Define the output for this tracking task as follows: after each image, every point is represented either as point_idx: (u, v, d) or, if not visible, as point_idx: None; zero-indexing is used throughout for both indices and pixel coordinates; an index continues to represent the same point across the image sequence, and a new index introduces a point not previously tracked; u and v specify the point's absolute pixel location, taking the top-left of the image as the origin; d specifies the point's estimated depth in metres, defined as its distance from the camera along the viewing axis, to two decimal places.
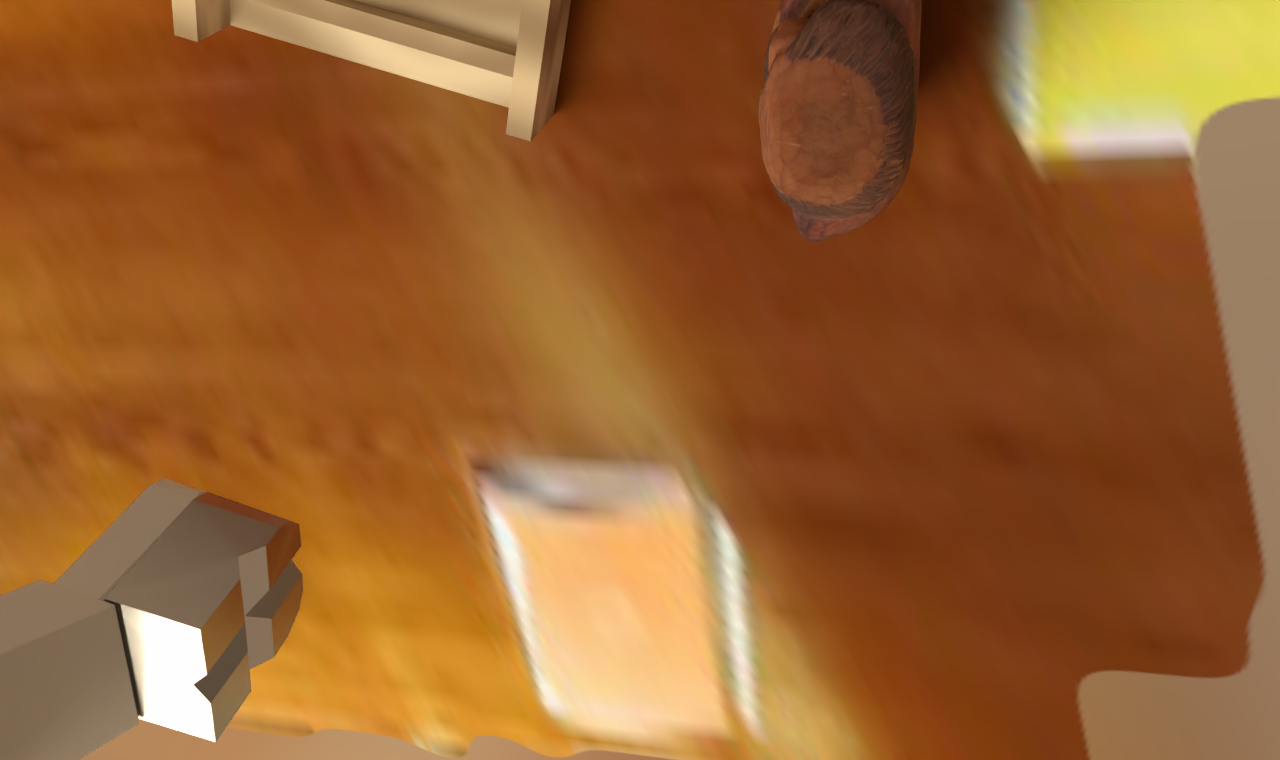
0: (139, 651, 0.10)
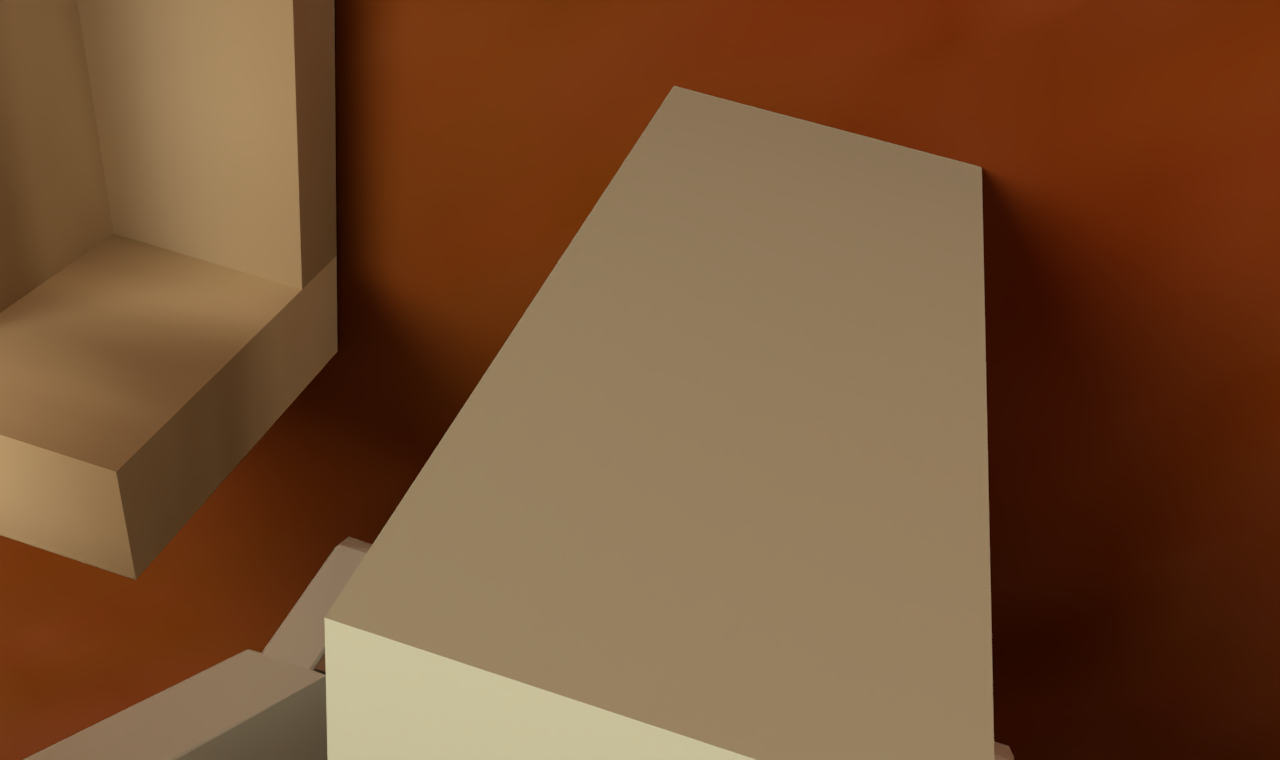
0: None
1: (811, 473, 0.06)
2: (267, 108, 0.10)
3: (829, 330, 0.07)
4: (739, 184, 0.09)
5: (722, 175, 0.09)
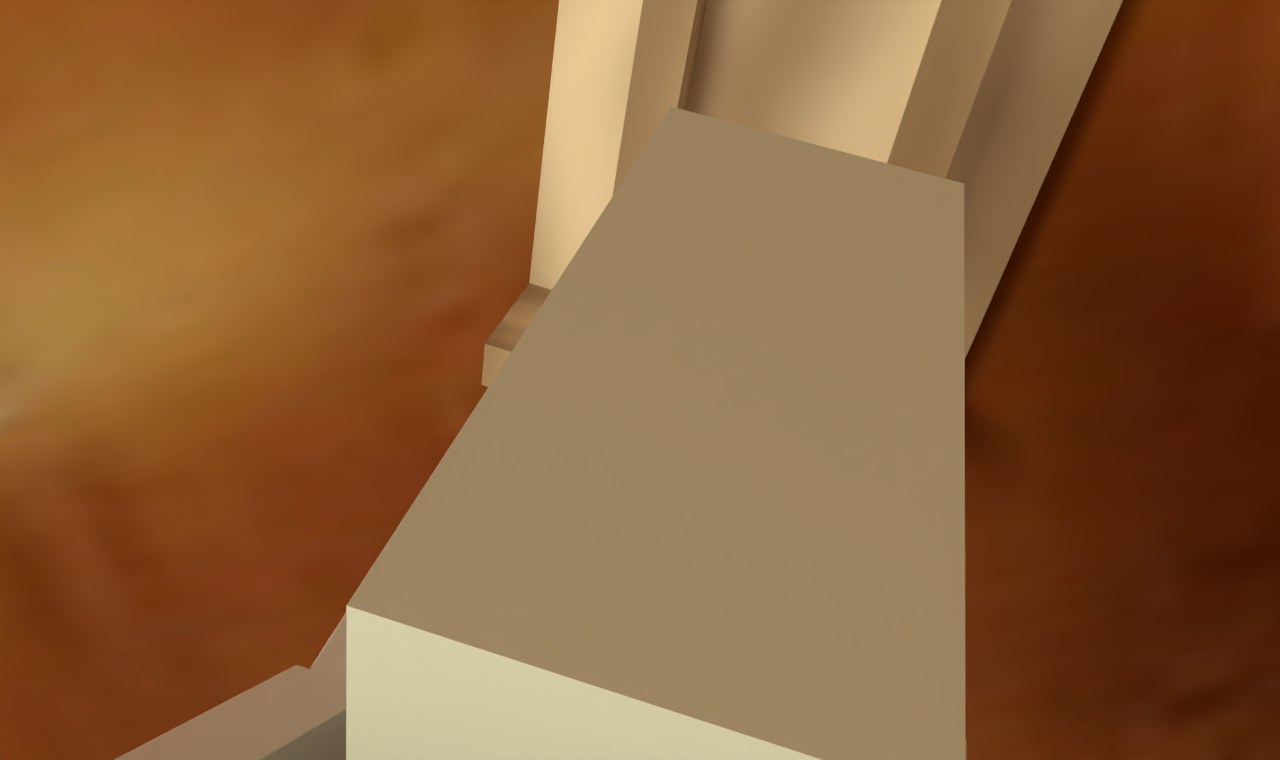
0: None
1: (798, 475, 0.06)
2: None
3: (814, 341, 0.08)
4: (732, 203, 0.09)
5: (715, 194, 0.09)
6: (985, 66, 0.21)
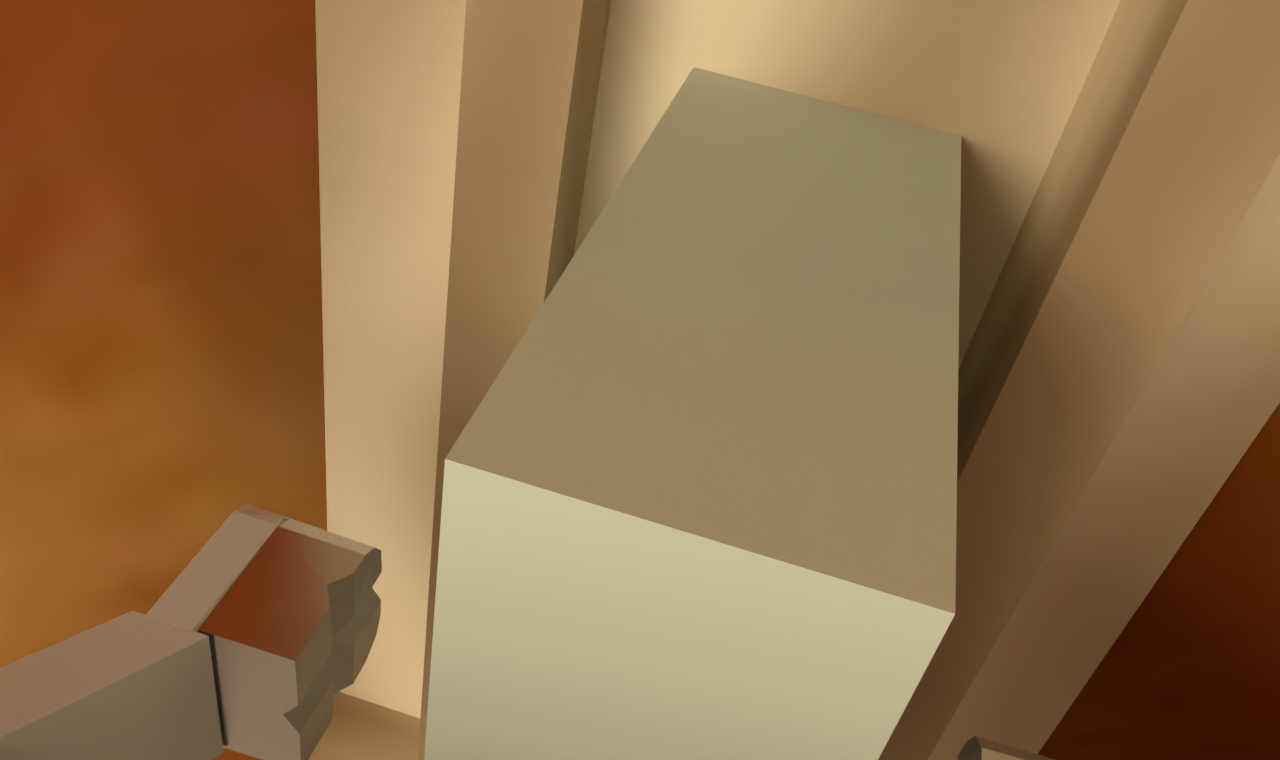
0: (230, 681, 0.10)
1: (814, 371, 0.07)
2: None
3: (827, 264, 0.09)
4: (751, 150, 0.10)
5: (736, 143, 0.10)
6: (1029, 578, 0.12)
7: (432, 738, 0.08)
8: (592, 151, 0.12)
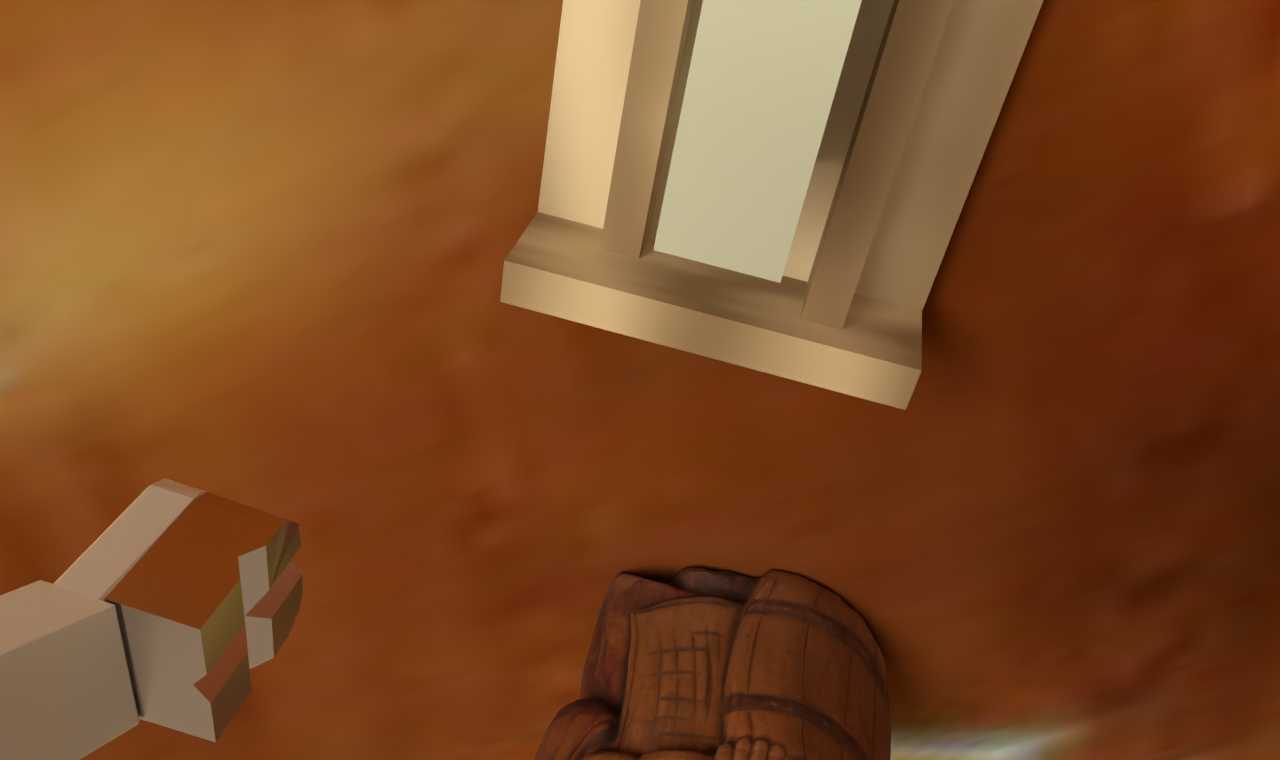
0: (139, 651, 0.10)
1: None
2: (934, 249, 0.30)
3: None
4: None
5: None
6: None
7: None
8: None
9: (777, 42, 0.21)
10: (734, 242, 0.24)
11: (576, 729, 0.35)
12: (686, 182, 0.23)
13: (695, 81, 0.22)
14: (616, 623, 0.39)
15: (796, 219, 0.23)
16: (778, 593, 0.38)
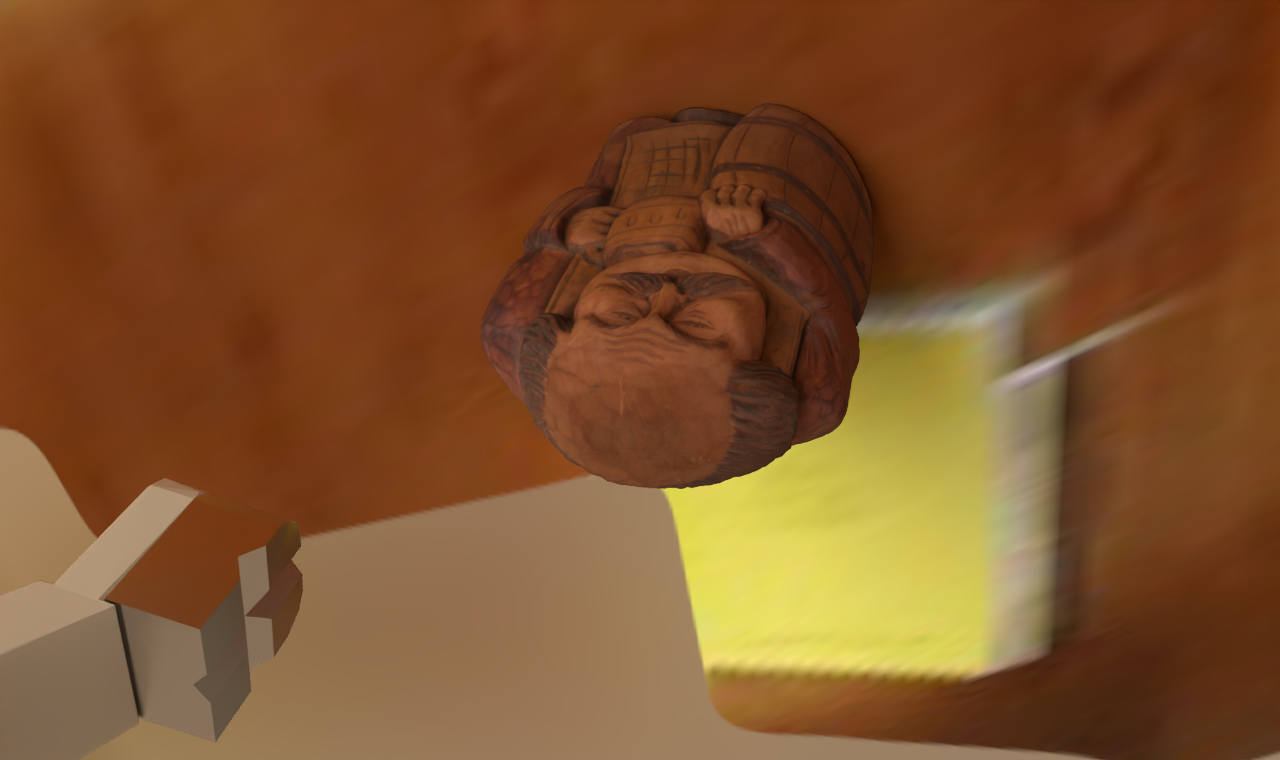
0: (139, 651, 0.10)
1: None
2: None
3: None
4: None
5: None
6: None
7: None
8: None
9: None
10: None
11: (571, 196, 0.37)
12: None
13: None
14: (613, 148, 0.41)
15: None
16: (768, 113, 0.40)
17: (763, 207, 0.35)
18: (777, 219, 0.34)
